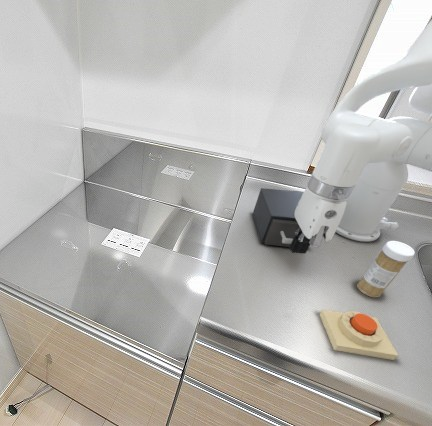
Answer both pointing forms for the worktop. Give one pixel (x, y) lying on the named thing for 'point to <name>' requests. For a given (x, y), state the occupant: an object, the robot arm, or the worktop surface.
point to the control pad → (356, 336)
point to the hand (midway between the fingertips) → (297, 250)
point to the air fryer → (274, 208)
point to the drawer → (281, 232)
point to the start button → (363, 324)
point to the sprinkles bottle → (385, 268)
